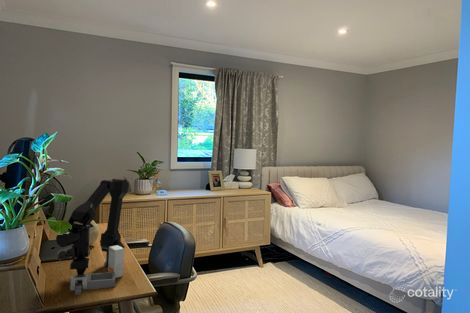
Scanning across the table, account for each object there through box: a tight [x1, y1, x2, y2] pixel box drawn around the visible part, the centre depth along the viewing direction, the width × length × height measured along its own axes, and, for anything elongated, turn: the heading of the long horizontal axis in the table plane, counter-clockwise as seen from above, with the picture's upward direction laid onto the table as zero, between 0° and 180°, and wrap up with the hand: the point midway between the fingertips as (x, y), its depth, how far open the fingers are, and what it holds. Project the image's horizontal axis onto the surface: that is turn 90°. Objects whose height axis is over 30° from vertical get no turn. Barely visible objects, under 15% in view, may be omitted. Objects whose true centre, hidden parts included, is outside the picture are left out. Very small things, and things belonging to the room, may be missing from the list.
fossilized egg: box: [76, 219, 100, 247], centre depth 181 cm, size 13×13×15 cm
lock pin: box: [74, 280, 83, 296], centre depth 131 cm, size 11×2×3 cm, turn 21°
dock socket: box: [86, 271, 116, 291], centre depth 136 cm, size 8×10×3 cm
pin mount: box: [69, 273, 89, 292], centre depth 132 cm, size 6×6×4 cm
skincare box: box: [107, 245, 125, 279], centre depth 145 cm, size 6×4×12 cm
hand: (80, 278), depth 137 cm, fingers closed
